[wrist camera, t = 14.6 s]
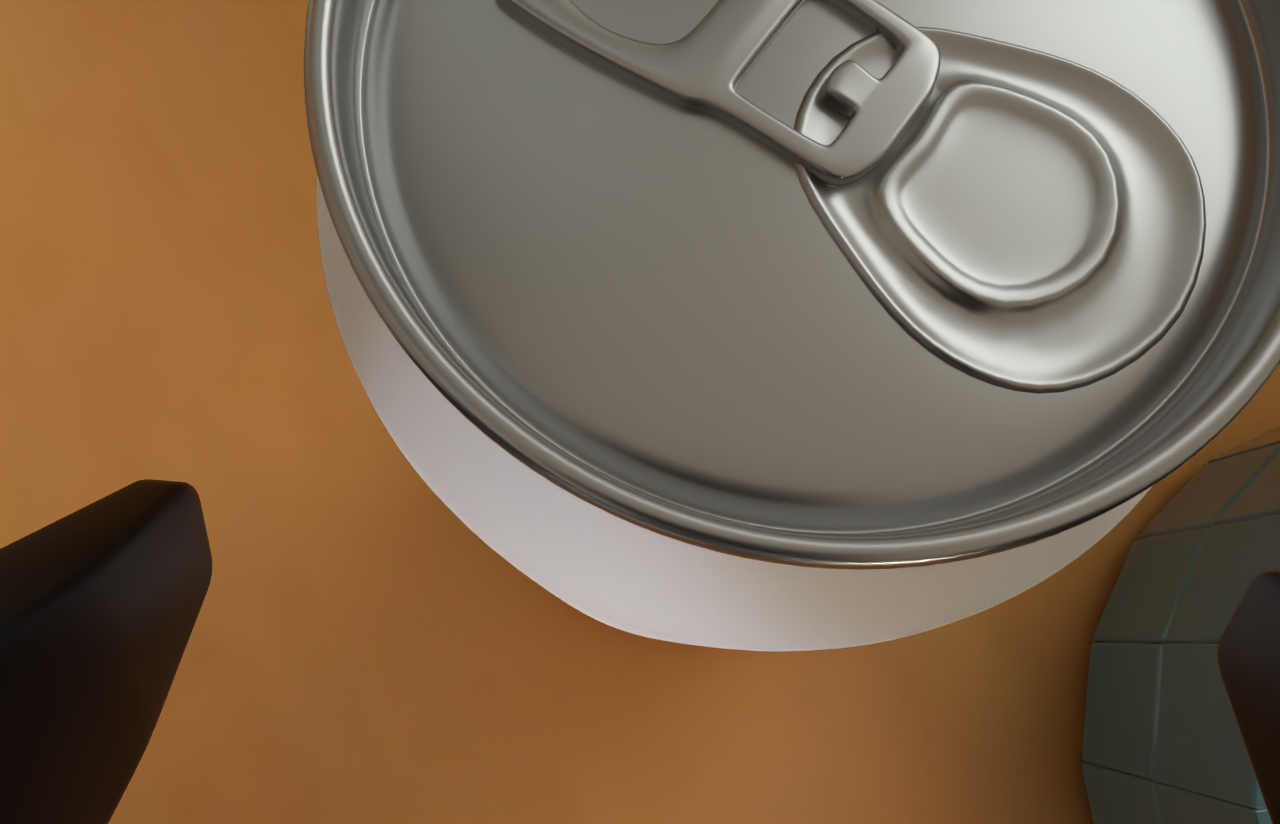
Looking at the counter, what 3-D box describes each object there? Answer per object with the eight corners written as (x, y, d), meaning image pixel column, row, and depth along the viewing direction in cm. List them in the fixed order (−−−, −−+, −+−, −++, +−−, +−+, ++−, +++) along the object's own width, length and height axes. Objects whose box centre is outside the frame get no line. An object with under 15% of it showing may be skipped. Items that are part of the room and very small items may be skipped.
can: (721, 720, 16) (1047, 979, 4) (418, 489, 16) (-57, 139, 5) (928, 415, 17) (1628, -59, 5) (638, 214, 18) (694, -596, 6)
